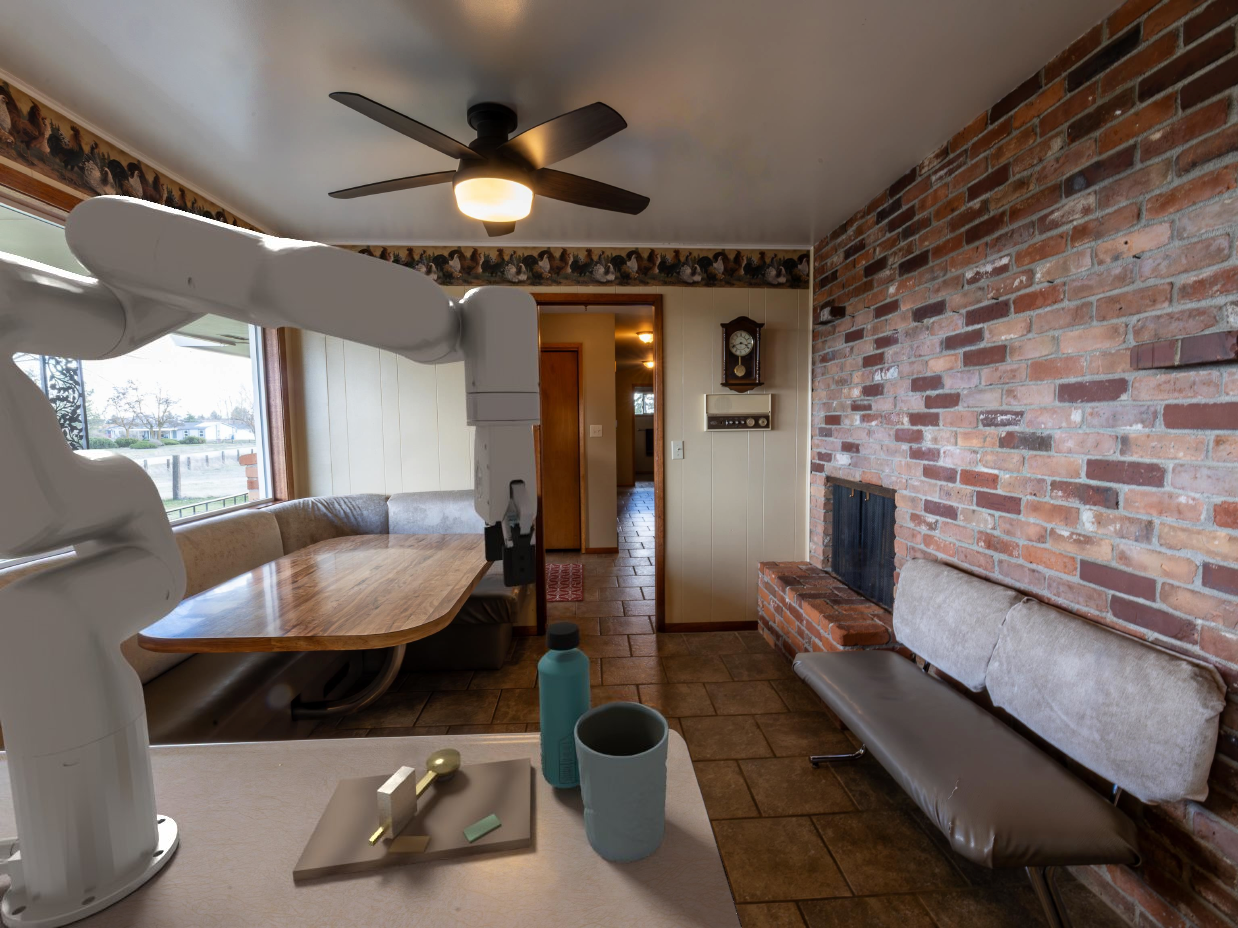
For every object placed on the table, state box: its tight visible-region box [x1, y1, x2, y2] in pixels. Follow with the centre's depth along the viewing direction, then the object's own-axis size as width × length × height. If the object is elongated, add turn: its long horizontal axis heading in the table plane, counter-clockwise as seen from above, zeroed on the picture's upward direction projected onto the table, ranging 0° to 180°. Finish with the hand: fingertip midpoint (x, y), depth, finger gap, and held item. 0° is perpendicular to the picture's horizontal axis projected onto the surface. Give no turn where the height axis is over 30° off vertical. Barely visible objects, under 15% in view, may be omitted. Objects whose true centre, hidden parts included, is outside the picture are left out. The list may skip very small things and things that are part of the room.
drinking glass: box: [574, 701, 670, 864], centre depth 57 cm, size 10×10×12 cm
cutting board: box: [292, 757, 532, 881], centre depth 60 cm, size 23×13×2 cm, turn 99°
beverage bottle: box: [537, 621, 593, 789], centre depth 64 cm, size 6×7×20 cm
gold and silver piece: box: [369, 748, 462, 847], centre depth 59 cm, size 14×4×5 cm, turn 164°
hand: (509, 571), depth 56 cm, fingers open, 9 cm apart
